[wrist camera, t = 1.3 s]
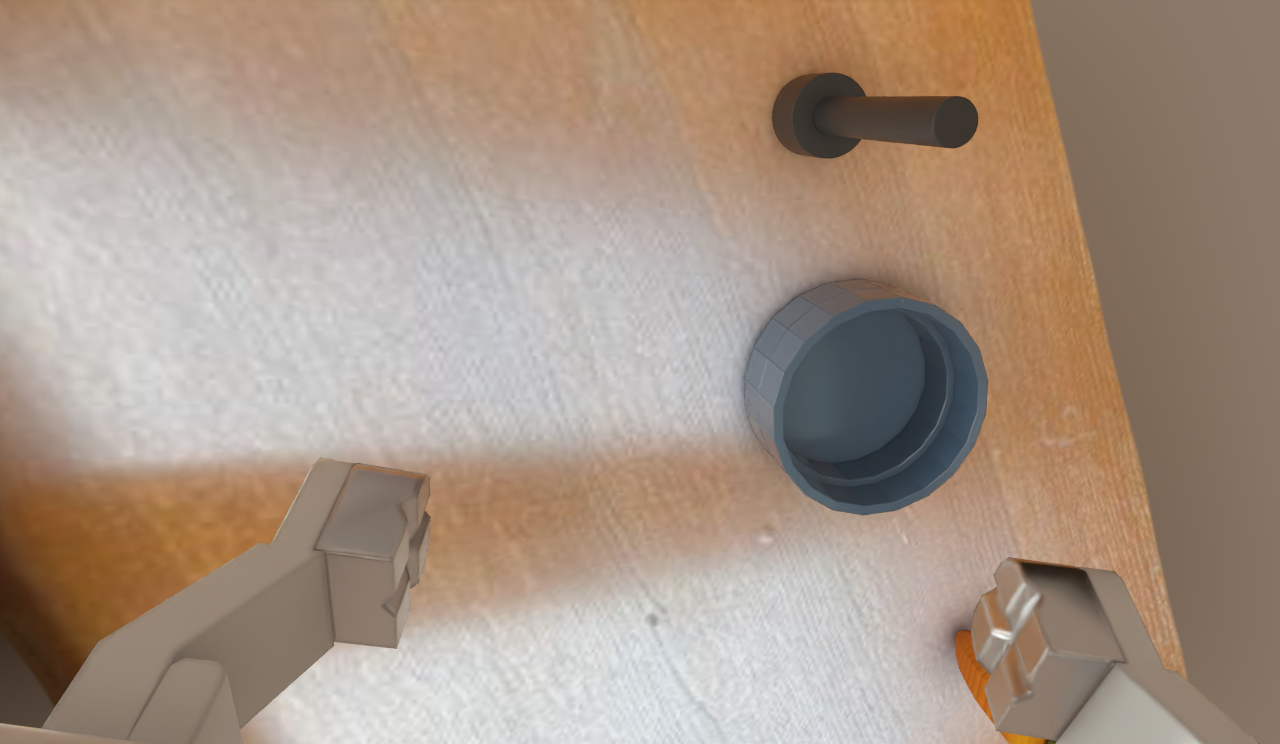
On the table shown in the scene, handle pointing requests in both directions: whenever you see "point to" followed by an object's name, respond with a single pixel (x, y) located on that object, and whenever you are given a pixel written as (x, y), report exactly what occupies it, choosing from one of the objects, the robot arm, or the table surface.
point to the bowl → (866, 395)
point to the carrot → (983, 684)
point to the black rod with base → (865, 117)
